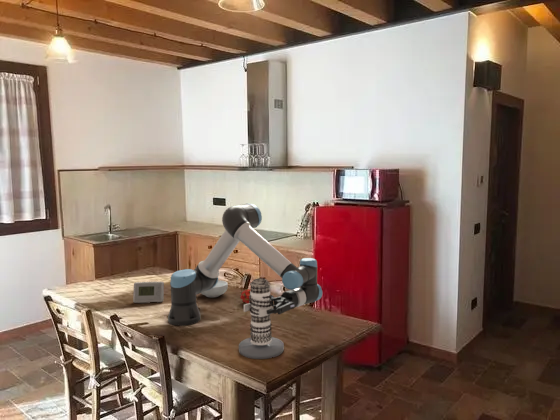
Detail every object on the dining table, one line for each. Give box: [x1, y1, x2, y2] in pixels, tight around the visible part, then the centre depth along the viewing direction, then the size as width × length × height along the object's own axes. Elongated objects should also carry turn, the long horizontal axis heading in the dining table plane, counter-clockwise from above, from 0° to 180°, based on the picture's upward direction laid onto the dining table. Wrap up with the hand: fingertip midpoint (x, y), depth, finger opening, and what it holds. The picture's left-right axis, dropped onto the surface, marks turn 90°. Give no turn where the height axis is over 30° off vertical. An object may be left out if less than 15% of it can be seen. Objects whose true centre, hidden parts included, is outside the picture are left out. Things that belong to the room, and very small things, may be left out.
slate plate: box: [238, 336, 285, 360], centre depth 182 cm, size 18×18×2 cm
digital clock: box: [132, 281, 165, 304], centre depth 247 cm, size 16×9×11 cm, turn 83°
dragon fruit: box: [239, 288, 251, 305], centre depth 241 cm, size 8×8×12 cm
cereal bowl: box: [200, 279, 229, 298], centre depth 257 cm, size 17×17×7 cm
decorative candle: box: [249, 277, 273, 345], centre depth 181 cm, size 9×9×25 cm
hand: (251, 310), depth 177 cm, fingers closed on decorative candle, 8 cm apart
